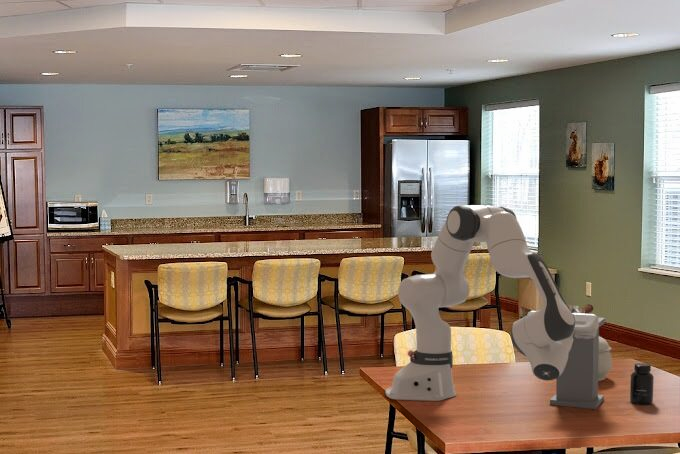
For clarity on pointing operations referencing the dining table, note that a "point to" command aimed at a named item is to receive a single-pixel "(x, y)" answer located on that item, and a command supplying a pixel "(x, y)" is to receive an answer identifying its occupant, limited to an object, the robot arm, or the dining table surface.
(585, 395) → the tool stand
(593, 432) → the dining table surface
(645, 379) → the supplement bottle
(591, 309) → the kettle
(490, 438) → the dining table surface
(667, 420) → the dining table surface
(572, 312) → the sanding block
